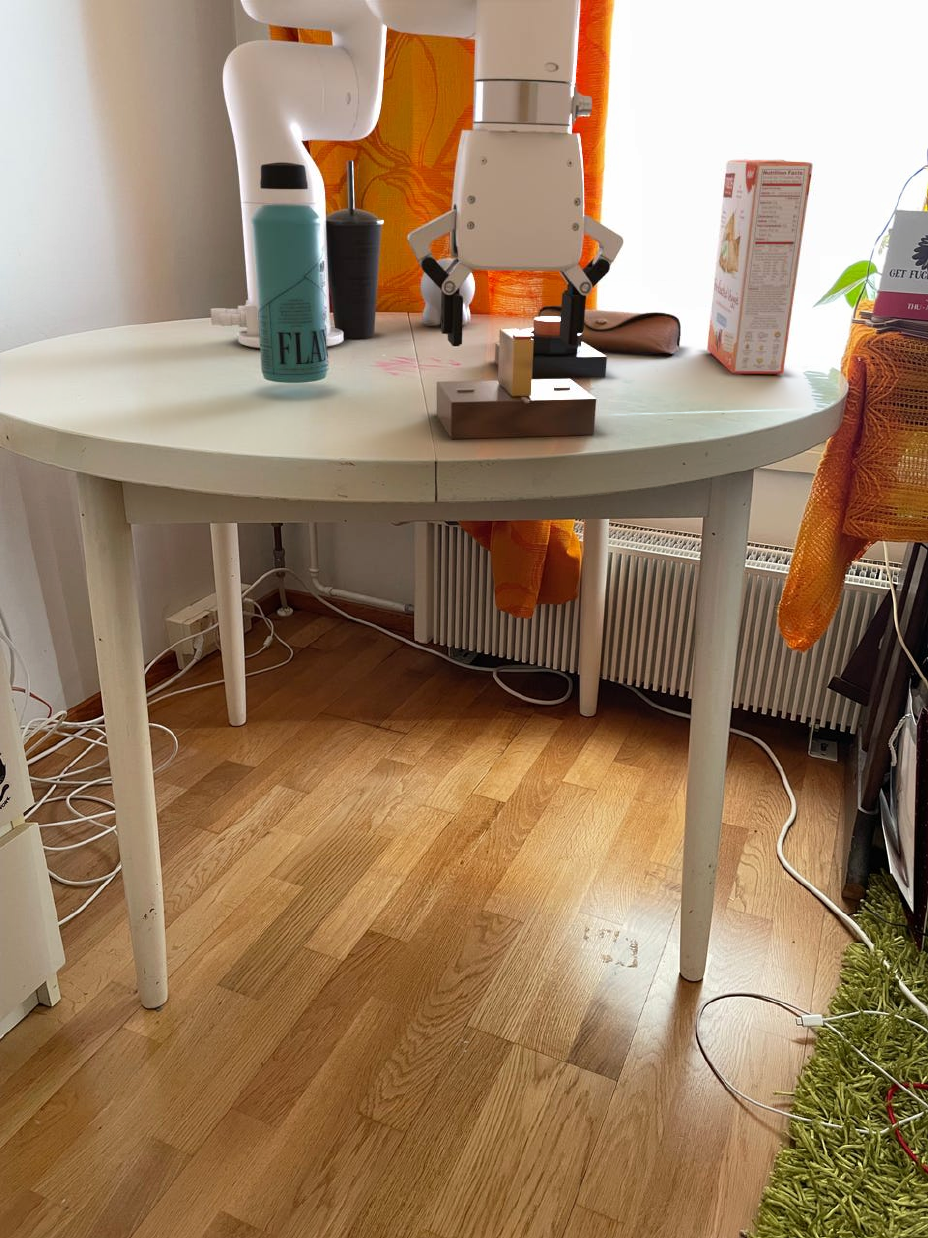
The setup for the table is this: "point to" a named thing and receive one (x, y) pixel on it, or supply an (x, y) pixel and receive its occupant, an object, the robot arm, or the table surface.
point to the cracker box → (757, 263)
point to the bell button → (547, 326)
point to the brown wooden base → (514, 409)
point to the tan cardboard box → (515, 362)
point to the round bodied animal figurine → (433, 297)
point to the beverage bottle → (289, 282)
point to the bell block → (562, 358)
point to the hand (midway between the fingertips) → (511, 342)
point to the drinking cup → (353, 266)
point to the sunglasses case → (627, 331)
